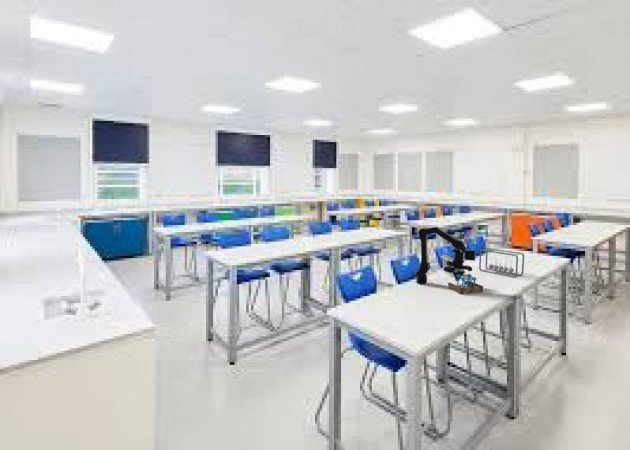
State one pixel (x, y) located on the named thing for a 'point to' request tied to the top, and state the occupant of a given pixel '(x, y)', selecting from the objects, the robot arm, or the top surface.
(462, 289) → the box
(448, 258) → the test tube rack
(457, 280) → the molecular structure
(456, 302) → the top surface
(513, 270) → the newton's cradle
